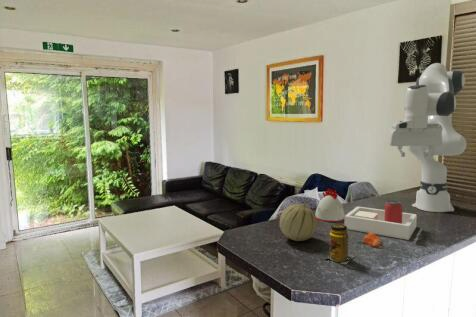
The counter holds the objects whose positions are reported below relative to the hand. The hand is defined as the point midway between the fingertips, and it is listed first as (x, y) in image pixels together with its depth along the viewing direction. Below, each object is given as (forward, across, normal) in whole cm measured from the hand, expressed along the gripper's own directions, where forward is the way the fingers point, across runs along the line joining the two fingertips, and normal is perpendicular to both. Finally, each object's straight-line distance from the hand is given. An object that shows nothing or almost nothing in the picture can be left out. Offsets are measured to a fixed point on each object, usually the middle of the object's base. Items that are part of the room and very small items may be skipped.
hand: (414, 156), depth 140 cm
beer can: (+30, +10, +8) cm, 33 cm away
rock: (+32, +21, +22) cm, 44 cm away
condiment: (+32, +34, +36) cm, 59 cm away
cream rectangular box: (+30, +20, +3) cm, 36 cm away
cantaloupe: (+31, +49, +20) cm, 62 cm away
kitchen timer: (+32, +34, -8) cm, 47 cm away
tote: (+31, +14, +5) cm, 35 cm away
